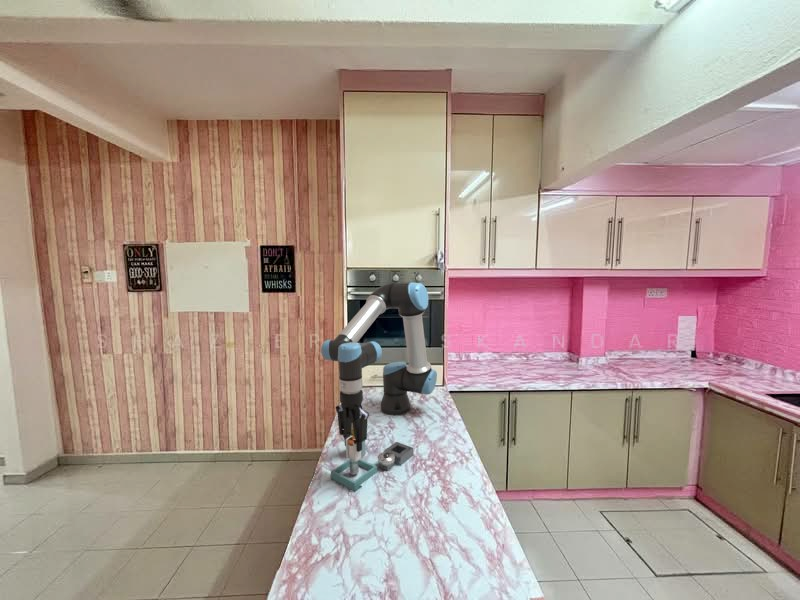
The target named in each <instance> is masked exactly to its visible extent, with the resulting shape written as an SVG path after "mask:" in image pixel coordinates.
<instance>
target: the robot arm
mask: <svg viewBox="0 0 800 600" xmlns="http://www.w3.org/2000/svg"><path fill="white" fill-rule="evenodd" d="M428 306H429V293H428V289H427V288H426V287H425V286H424V284H422V283H420V282H412V281H411V282H388V283H385V284H383V285H381V286H379V287H378V288H376V289H375V290H374V291H373V292H371V293H370V294H369V295H368V297H367V298H366V301H365V304H364V305H363V306H362V307H361V308H360V309H359V310H358V312H357V313H356V314H355V315H354V316H353V317H352V318H351V320H350V321H349V322H348V323H347V324H346V325H345V326H344V328H343V329H342V330H341V331H340V333H338V335H336V337H335V338H334V339H327V340H324V342H323V343H322V345H321V346H320V347H321V348H320V353H321V356H322V358H323V359H325V360H327V361H331V362H338V374H339V375H338V379H339V380H338V381H339V383H338V385H339V402H340V404H339V405H337V406H335V410H336V413H337V420H338V421H337V422H338V423H337V424H338V432H339V435H340V436H343V438H344V447H345V458H346V459H349V441H348V439H349V438H350V437H353V436H350V435H352V433H351V426H352V423H353V430H354V436H355V441H354V442H353V446H354V461H355V462H356V461H358V460H359V459H362V457H361V450H362V442H363V441H365V442H366V440H367V438H368V420H369V416H370V413H369V412H368V411H366V412H365V411H364V409H363V405H362V403H363V401H364V398H363V397H364V394H363V393H364V392H363V373H362V372H363V369H364V368H366V367H368V366H371V365H372V364H375V363H376V362H377V361H379V360H380V359H381V357H382V355H383V351H382V349H383V348H382V347H381V345H380V344H379V343H378V342H376V341H367V342H359V340H360V339H362V337H363V336H364V334H365V333H366V332H367V330H368V329H369V328H370V327H371V326H372V324H373V323H374V322H375V321H376V319H377V318H378V317H379V315H382V314H383V313H385V312H386V310H389V309H393V310H395V309H397V310H398V315H399V316H400V317H402V321H403V330H404V335H405V336H404V337H405V343H406V344H405V345H406V350H407V358H408V359H407V360H408V364H407V362H405V361H394V362H390V363H387V364H385V365H384V366H383V368H382V378H383V379H382V384H383V396H382V400H381V402H380V411H381V413H383V414H385V415H388V416H401V415H405V414H408V413H409V412H410V411H411V409H412V404H411V402H410V398H409V395H408V392H410V393H415V394H421V395H431V394H432V393H433V392H434V390H435V387H436V384H437V380H438V379H437V378H438V373H437V371H436V370H435V369H432V365H431V363H430V362H429V361H428V357H427V355H428V354H427V348H426V341H425V339H426V338H425V331H424V321H423V314H424V313H425V311H426V309H427V308H428Z"/></svg>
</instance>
